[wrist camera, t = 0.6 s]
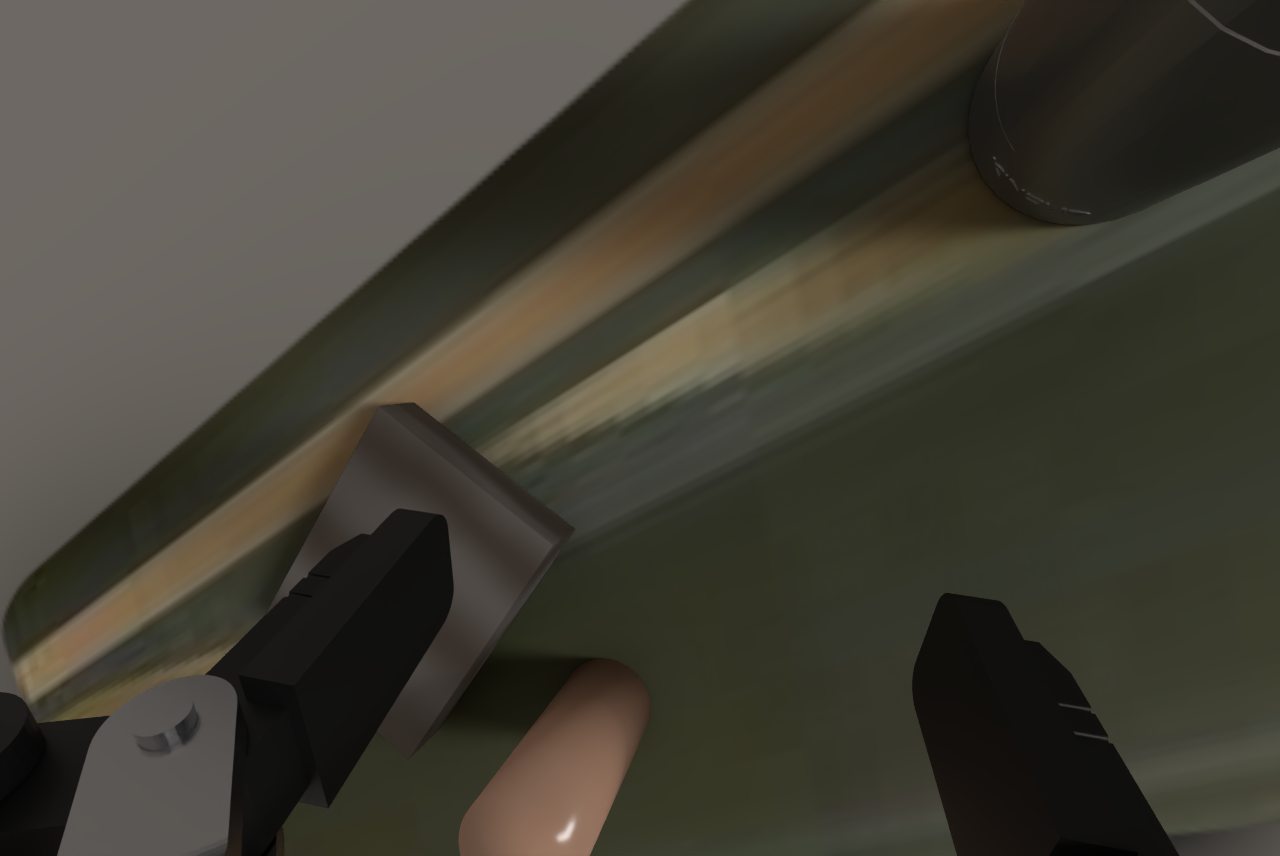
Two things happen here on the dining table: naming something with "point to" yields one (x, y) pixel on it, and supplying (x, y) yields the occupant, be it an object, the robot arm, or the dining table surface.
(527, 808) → the terracotta cylinder
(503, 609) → the plinth
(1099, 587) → the dining table surface
